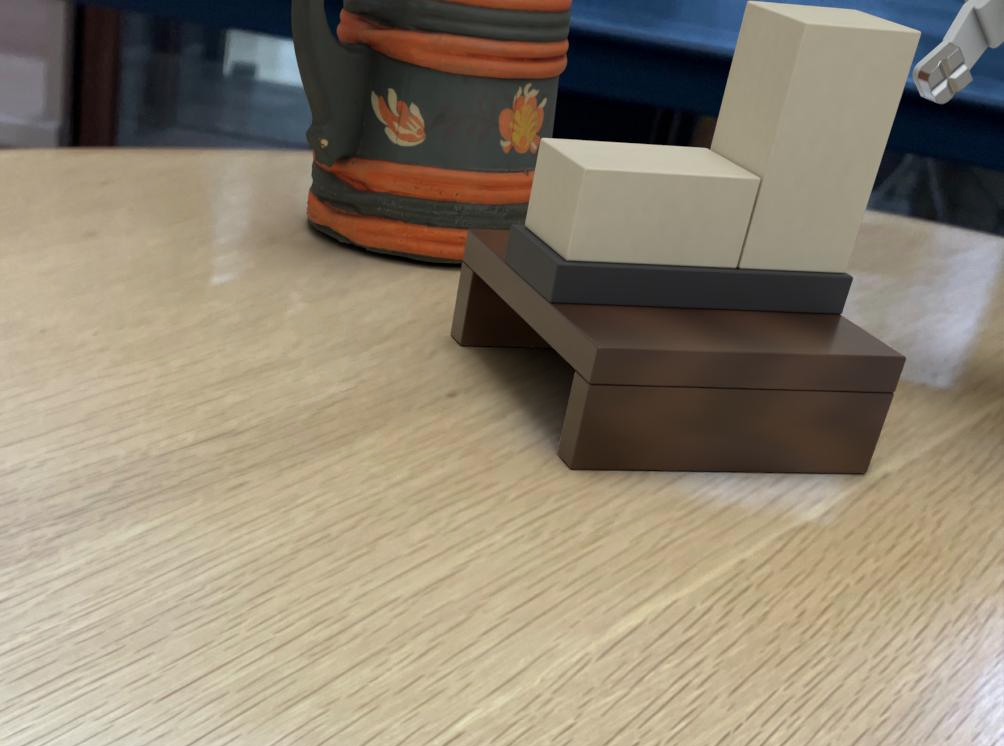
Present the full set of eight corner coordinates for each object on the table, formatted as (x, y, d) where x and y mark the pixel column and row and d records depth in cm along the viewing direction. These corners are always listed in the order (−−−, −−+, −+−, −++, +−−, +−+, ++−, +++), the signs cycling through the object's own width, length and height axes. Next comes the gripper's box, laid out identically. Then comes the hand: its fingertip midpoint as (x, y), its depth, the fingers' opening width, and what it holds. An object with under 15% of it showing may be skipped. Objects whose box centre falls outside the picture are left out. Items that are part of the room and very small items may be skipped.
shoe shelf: (701, 342, 80) (728, 240, 77) (867, 474, 67) (908, 357, 64) (449, 334, 78) (467, 227, 74) (570, 469, 64) (598, 347, 61)
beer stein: (382, 293, 82) (444, -170, 69) (201, 226, 90) (226, -203, 77) (590, 252, 93) (677, -155, 80) (413, 196, 101) (466, -185, 88)
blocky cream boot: (779, 273, 73) (855, 8, 66) (842, 315, 68) (932, 33, 61) (503, 261, 70) (554, -18, 63) (549, 303, 65) (609, 7, 58)
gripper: (1489, -38, 57) (1142, 234, 61) (1151, -101, 72) (893, 121, 76) (1462, -200, 53) (1095, 102, 58) (1112, -231, 68) (843, 10, 73)
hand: (978, 112), depth 67 cm, fingers open, 8 cm apart
